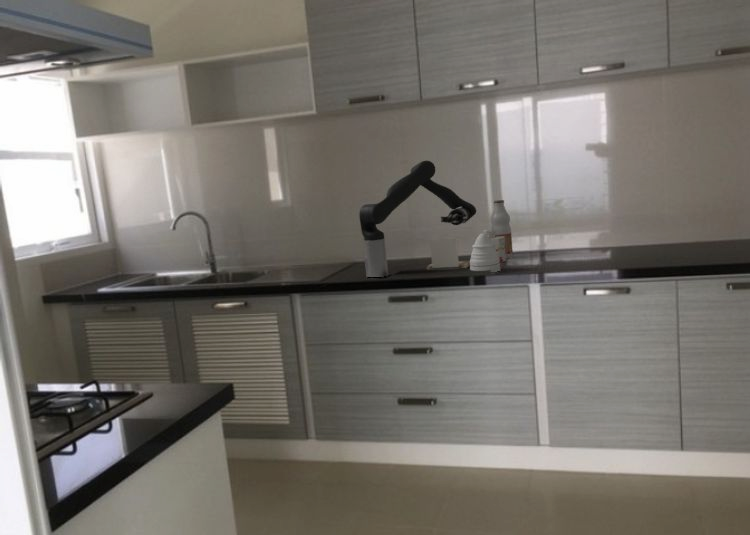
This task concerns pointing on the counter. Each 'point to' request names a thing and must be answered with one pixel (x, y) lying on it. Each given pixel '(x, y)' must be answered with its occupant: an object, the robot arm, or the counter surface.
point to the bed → (461, 265)
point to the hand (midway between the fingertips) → (448, 220)
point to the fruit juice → (502, 226)
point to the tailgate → (444, 253)
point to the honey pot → (484, 254)
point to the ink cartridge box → (498, 245)
